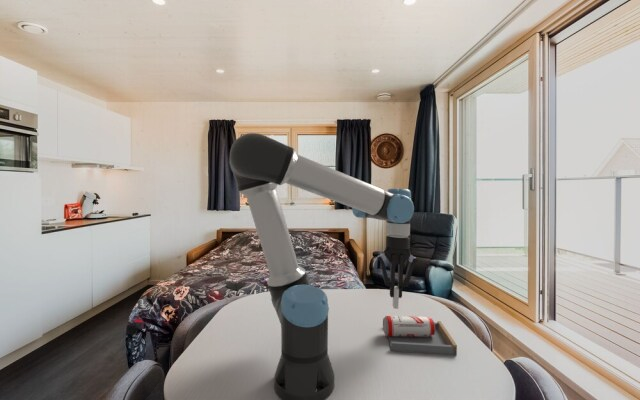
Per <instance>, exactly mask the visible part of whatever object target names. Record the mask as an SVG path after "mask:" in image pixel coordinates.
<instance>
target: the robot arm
mask: <svg viewBox="0 0 640 400" xmlns="http://www.w3.org/2000/svg"><path fill="white" fill-rule="evenodd" d="M228 159H229V161H228V163H229V167H230V170H231V172H232V173H233V176H234V180H235V184H236V187H237V189H238V192H239V194H240V195H241V194H242V195H243V196H245V197H246V200H247V203H248V206H249V210H250V212H251V216H252V218H253V222H254V226H255V229H256V234H257V236H258V240H259V242H260V245H261V249H262V252H263V256H264V259H265V262H266V265H267V268H268V272H269V276H268V279H267V281H266V282H267V286H268V290H269V292H270V296H271V297H270V298H271V299H270V300H271V304H272V306H273V308H274V309H275V312H276V314H277V318H278V321H279V323H280V327H281V332H280V333H281V334H280V335H281V337H280V338H281V339H280V340H281V341H280V343H281V347H280V348H281V353H280V356H279V357H280V358H279V360H278V364H277V366H276V370H275V374H274V377H273V379H274V380H273V384H274V385H273V388H274V392H275V394H276V395H277V396H278V397H279V398H280V399H281V400H326V399H328V397H329V396H331V394H332V393H333V391H334V389H335V372H334V369H333V365H332V363H331V359H330V356H329V353H328V350H329V349H328V346H329V343H328V341H329V311H330V310H329V309H330V307H329V301H328V300H329V299H328V296H327V294H326V292H325V290H323V289H321V288H320V287H318V286H314V285H311V284H310V282H309V278H308V275H307V272H306V271H307V270H306V268H304V267H302V266H300V265H299V263H298V258H297V255H296V252H295V248H294V246H293V242H292V239H291V235H290V231H289V227H288V223H287V222H286V218H285V215H284V214H285V213H284V211H283V207H282V204H281V201H280V198H279V194H278V191H277V187H278V186H282V185H284V184H287V185H289V186H293V187H296V188H298V189H300V190H303V191H305V192H309V193H312V194H314V195H317V196H320V197H323V198H325V199H328V200H330V201H333V202H337V203H339V204H341V205H345V206H347V207H350V208H351V211H352V214H353V216H354V217H355V218H359V219H360V218H362V219H368V218H369V219H373V220H374V219H375V220H378V221H379V220H380V221H386V229H385V230H386V233H385V234H386V236H385V249H384V251H383V253H381V254H380V255H379V254H378V255H377V256H376V257H377V260H378V262H379V263H380V268H381V272H382V277H383V282H384V285H385V286H386V287H389V297H390V298H392V307H393V309H398V310H399V303H400V302H399V299H402V297H403V289H404V288H407V287H409V284H410V281H411V277H412V273H413V270H414V267H415V265H416V264H417V262H418V259H417V257H416V256H413V255H412V253H411V251H410V243H411V242H410V241H411V239H410V237H409V236H410V235H411V219H412V218H413V215H414V213H415V212H414V211H415V206H414V202H413V201H412V192H411V190H410V189H407V188H388V189H387V190H384V189H382V188H379V187H378V186H375V185H373V184H371V183H368V182H365V181H363V180H361V179H358V178H356V177H353V176H350V175H349V174H346V173H345V172H341V171H339V170H336V169H334V168H331V167H329V166H326V165H325V164H322V163H319V162H317V161H315V160H312V159H310V158H307V157H305V156H302V155H300V154H298V153H297V151H296V150H295V148H293V147H291V146H290V145H286V144H284V143H282V142H280V141H278V140H275V139H273V138H272V137H269V136H267V135H264V134H262V133H256V132H255V133H254V132H250V133H249V132H248V133H245V134H243V135H240V136H239V137H238V138H236V140H235V141H233V143H232V144H231V148H230V151H229V158H228ZM386 259H387V261H388V262H389V264H390V265H389V266H390V268H389V269H390V271H389V278H388V274H387V268H386V264H385V261H386ZM407 261H409V262H408V265H407V268H406V271H405V275H404V264H405V263H406V262H407ZM396 265H397V266H398V267H397V285H396V284H395V283H396V282H395V281H396Z"/></svg>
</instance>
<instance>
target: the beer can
mask: <svg viewBox="0 0 640 400" xmlns="http://www.w3.org/2000/svg"><path fill="white" fill-rule="evenodd" d="M434 322H435V321H434V319H433V318H430V317H428V316H416V315H415V316H413V315H410V316H409V315H407V316H406V315H385V316H384V318H382V330H383V333H384V335H385V336H387V337H388V336H402V337H429V336H431V335H434V334H435V324H434Z"/></svg>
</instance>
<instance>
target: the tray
mask: <svg viewBox="0 0 640 400" xmlns="http://www.w3.org/2000/svg"><path fill="white" fill-rule="evenodd" d="M434 324H435V334H434V335H431V336H429V337H402V336H387V338H388V342H389V345H390V350H391V351H392V352H400V353H401V352H404V353H418V354H419V353H420V354H435V355H451V356H457V353H458V348H457V347H458V344H457V343H456V342H455V340H454V338H453V337H452V335H451V334H450V333H449V331H448V330H447V329H446V327H445V326H444V324H443V323H442V321H440V320H437V322H435V321H434Z"/></svg>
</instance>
